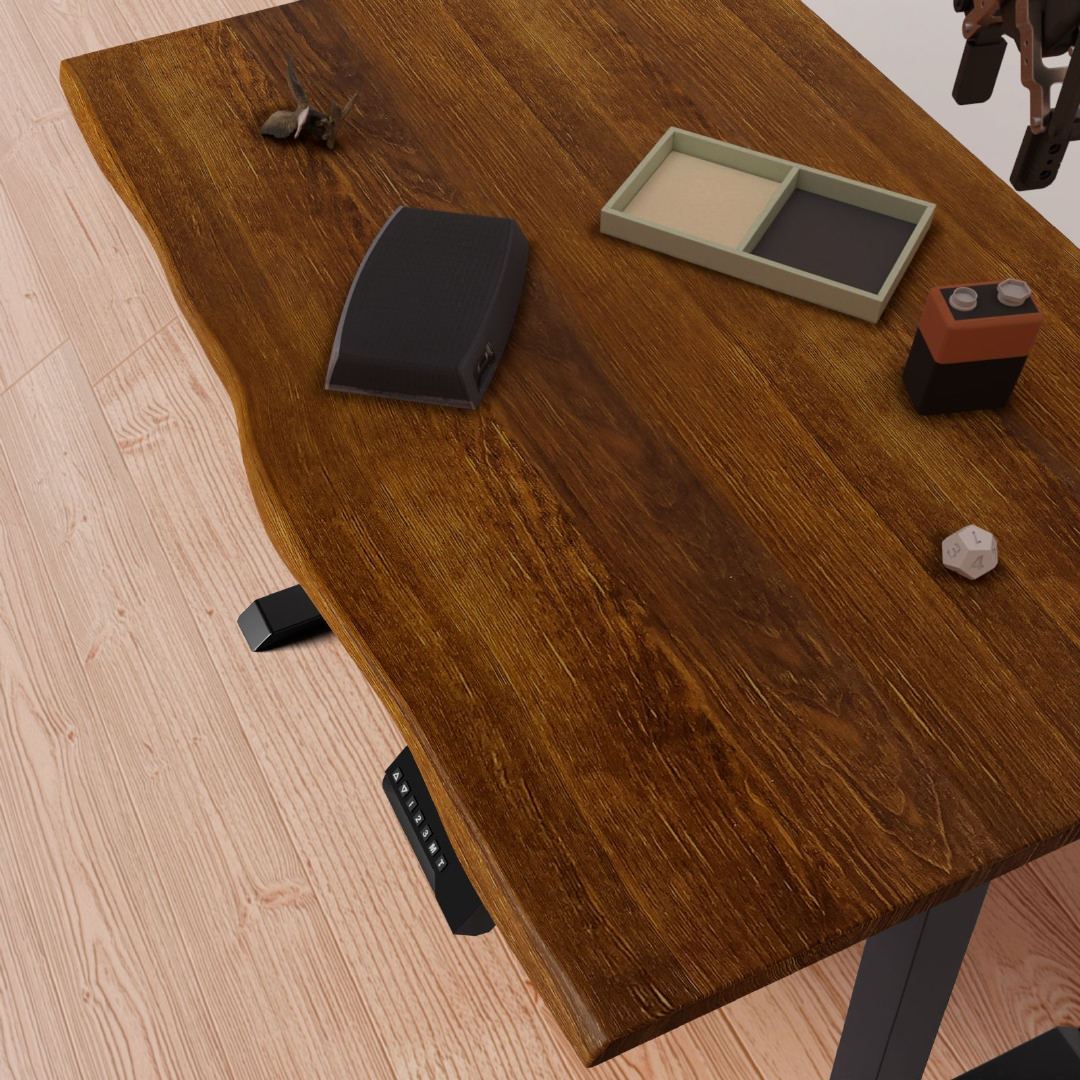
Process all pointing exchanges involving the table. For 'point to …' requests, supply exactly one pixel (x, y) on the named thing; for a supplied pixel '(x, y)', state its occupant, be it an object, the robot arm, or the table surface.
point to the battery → (971, 346)
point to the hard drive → (430, 308)
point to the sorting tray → (770, 222)
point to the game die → (970, 552)
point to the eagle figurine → (305, 114)
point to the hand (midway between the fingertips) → (997, 141)
